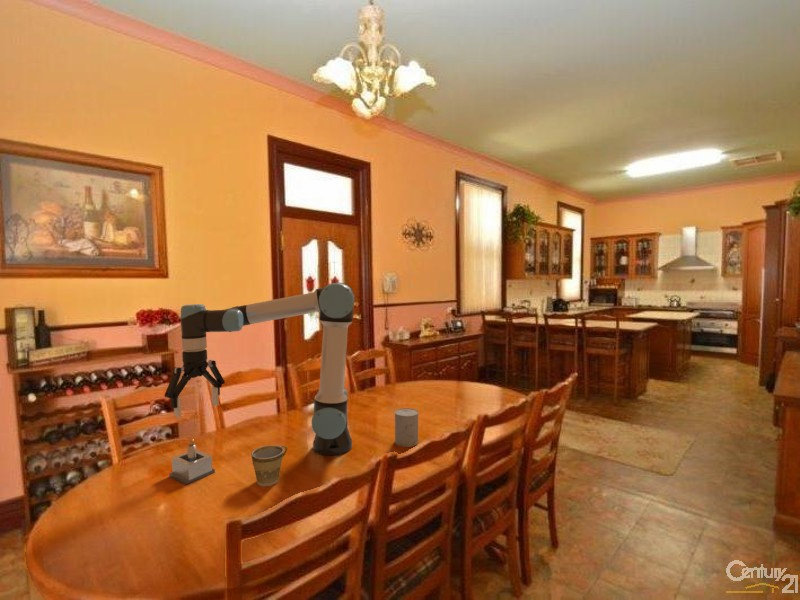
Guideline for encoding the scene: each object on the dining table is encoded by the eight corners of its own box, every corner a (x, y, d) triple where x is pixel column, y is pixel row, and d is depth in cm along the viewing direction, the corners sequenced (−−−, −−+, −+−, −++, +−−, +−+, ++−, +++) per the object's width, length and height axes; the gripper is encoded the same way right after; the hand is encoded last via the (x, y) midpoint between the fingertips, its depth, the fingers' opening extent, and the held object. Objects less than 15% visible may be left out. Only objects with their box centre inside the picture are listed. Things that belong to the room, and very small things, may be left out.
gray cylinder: (421, 439, 164) (422, 410, 164) (412, 448, 156) (412, 417, 155) (400, 435, 168) (400, 407, 168) (390, 444, 160) (390, 414, 159)
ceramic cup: (266, 492, 124) (265, 461, 123) (245, 483, 129) (244, 453, 128) (297, 475, 135) (297, 446, 134) (277, 467, 140) (276, 439, 139)
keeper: (214, 472, 137) (214, 437, 136) (185, 484, 128) (184, 448, 127) (198, 464, 142) (197, 431, 141) (169, 476, 134) (168, 441, 133)
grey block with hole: (212, 470, 136) (211, 456, 135) (188, 480, 129) (188, 465, 129) (195, 463, 141) (195, 449, 141) (172, 472, 134) (171, 457, 134)
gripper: (220, 343, 149) (222, 399, 150) (150, 355, 128) (153, 420, 129) (233, 345, 145) (235, 402, 146) (163, 357, 124) (166, 424, 125)
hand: (197, 410), depth 138 cm, fingers open, 13 cm apart
